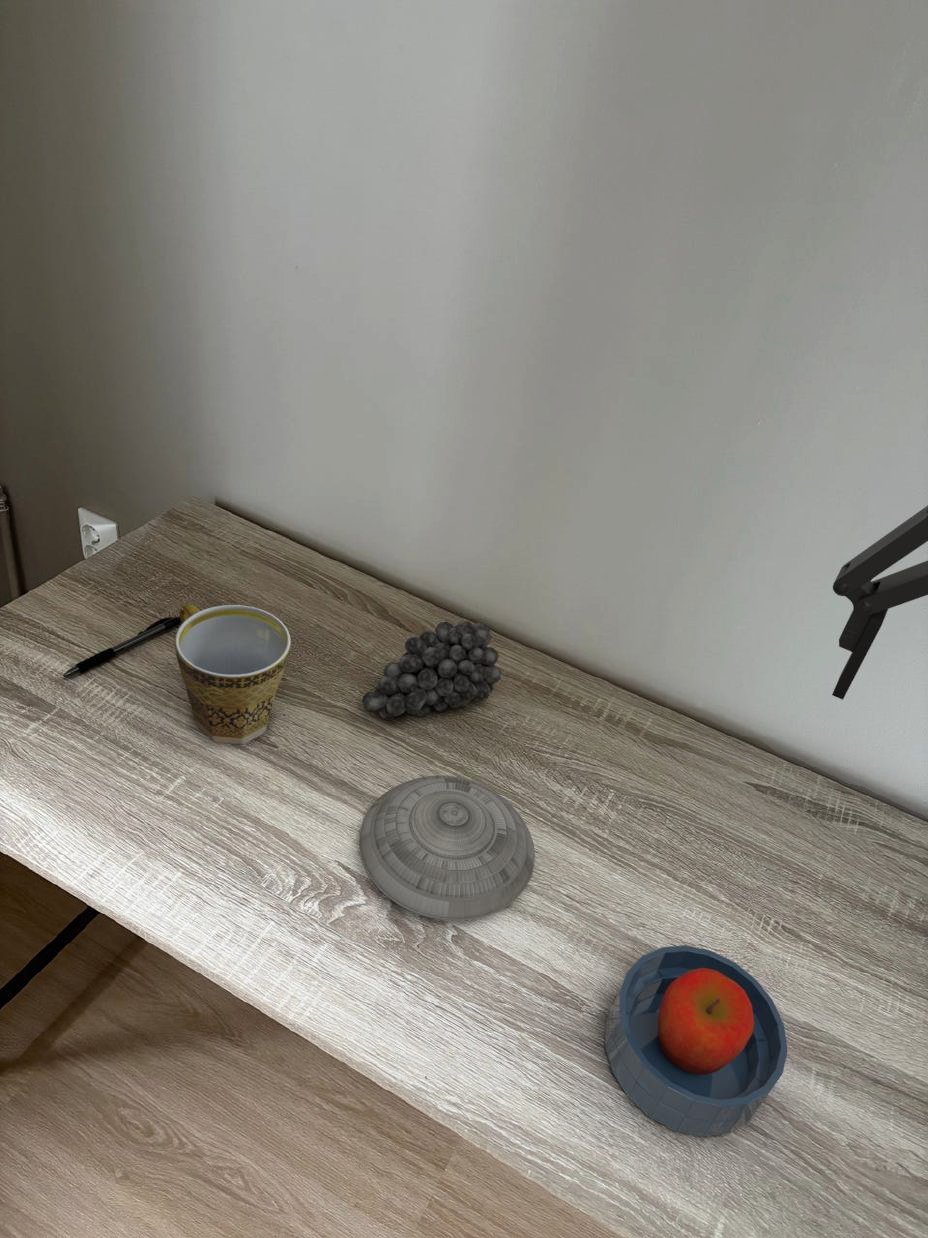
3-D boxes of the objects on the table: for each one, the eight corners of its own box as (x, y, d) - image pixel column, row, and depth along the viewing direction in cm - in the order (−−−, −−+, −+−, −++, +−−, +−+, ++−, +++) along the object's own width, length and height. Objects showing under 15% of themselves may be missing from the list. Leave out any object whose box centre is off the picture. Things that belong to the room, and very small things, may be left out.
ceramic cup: (308, 726, 93) (313, 646, 87) (220, 775, 87) (219, 693, 81) (226, 655, 100) (226, 575, 93) (138, 696, 93) (132, 613, 87)
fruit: (378, 667, 88) (514, 623, 95) (337, 638, 94) (467, 599, 101) (387, 751, 91) (517, 702, 98) (346, 717, 98) (471, 674, 105)
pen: (178, 616, 103) (178, 607, 102) (188, 623, 102) (188, 615, 102) (58, 674, 94) (56, 665, 93) (68, 683, 93) (67, 674, 92)
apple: (646, 1089, 69) (676, 1034, 65) (639, 1009, 74) (666, 952, 70) (733, 1101, 70) (768, 1047, 65) (720, 1020, 75) (752, 965, 70)
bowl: (797, 1096, 71) (822, 1062, 68) (669, 1170, 66) (690, 1136, 63) (694, 961, 79) (712, 924, 76) (572, 1017, 74) (587, 980, 71)
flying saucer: (414, 764, 92) (422, 722, 88) (559, 838, 87) (572, 797, 84) (322, 873, 81) (326, 829, 77) (481, 964, 76) (493, 922, 73)
